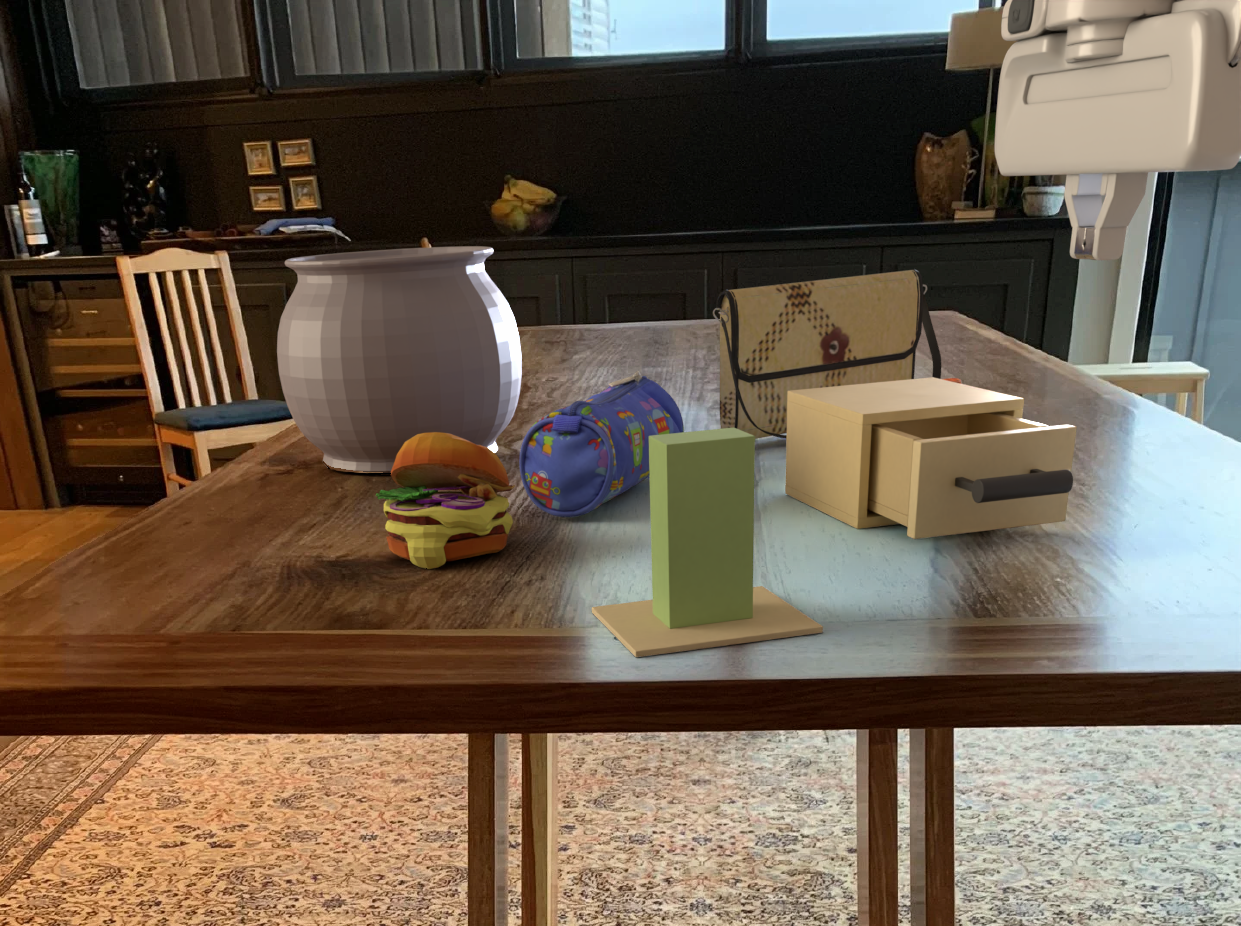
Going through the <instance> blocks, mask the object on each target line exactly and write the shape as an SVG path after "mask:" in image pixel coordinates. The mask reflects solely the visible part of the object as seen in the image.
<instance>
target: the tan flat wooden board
mask: <svg viewBox="0 0 1241 926" xmlns="http://www.w3.org/2000/svg"><path fill="white" fill-rule="evenodd" d="M591 613H592V614H593V615H594V616H595V618H597V619H598V620H599V621H600V623H602V625H603V626H605V628H606V629H608V631H609V632H610V633H612V635H613V636H614V637H615V638H616V639H617V640H618V641H619V642H620V643H621V644H622V645H623V646H624V647H625V648H626V649H627V651H629V652H630V653H631V654H632V655H633V656H634V657H635V658H643V657H650V656H658V655H666V654H673V653H680V652H687V651H695V650H703V649H711V648H718V647H725V646H734V645H740V644H747V643H755V642H762V641H771V640H777V639H785V638H793V637H801V636H809V635H815V634H822V633H824V626H823V625H822V624H820V623H819V622H817V621H815V620H814V619H812V618H811V617H809V616H808V615H806V614H805V613H804V612H802V611H801V610H799V609H798V608H797V607H795V606H794V605H792V604H790V603H789V602H787V601H785V600H784V599H782V597H780V596H778V595H777V594H775V593H774V592H772V591H770V589H767V587H765V586H763V585H758V586H753V618H749V619H741V620H733V621H726V622H718V623H710V624H703V625H695V626H687V627H679V628H672V629H670V628H668V627H667V626H666V625H665V624H664V623H663V622H662V621H661V620H659V619H658V618H657V617H656V616H655V615H654V614H653V600H652V599H645V600H637V601H630V602H629V601H628V602H622V603H613V604H605V605H598V606H592V607H591Z"/></svg>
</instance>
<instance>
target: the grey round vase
mask: <svg viewBox="0 0 1241 926" xmlns="http://www.w3.org/2000/svg"><path fill="white" fill-rule="evenodd" d="M494 252H495V251H494V248H493V247H491V246H479V245H478V246H477V245H476V246H475V245H473V246H472V245H471V246H470V245H469V246H467V245H466V246H465V245H464V246H463V245H462V246H431V247H430V246H429V247H413V248H396V249H395V248H394V249H378V250H377V249H376V250H364V251H350V252H349V251H348V252H336V253H325V254H316V255H315V254H314V255H306V256H305V255H304V256H299V257H291V258H288V259H286V260H285V261H284V265H285V267H287V268H289V269H291V270H293V271H294V273H295V274H296V275H297V283H296V284H295V287H294V289H293V291H292V292H291V295H290V297H289V299H288V301H287V302H286V304H285V307H284V309H283V312H282V314H281V316H280V319H279V325H278V330H277V340H276V341H277V342H276V343H277V344H276V353H277V368H278V375H279V381H280V384H281V389H282V393H283V396H284V399H285V402H286V405H287V409H288V410H289V412H290V415H291V417H292V419H293V421H294V424H295V425H296V427H297V428H298V430H299V431H300V432H301V434H302V435H303V436H304V437H305V438H306V439H307V440H308V441H309V442H310V443H311V444H313V446H315V447H316V448H317V449H319V451H321V452H322V453H323V458H322V462H323V461H324V462H325V463H326V464H327V465H329V466H331V467H334V468H341V469H346V470H353V471H363V472H383V473H391V470H392V467H393V465H394V462H395V459H396V456H397V454H398V452H399V451H400V449H401V447H402V446H403V444H404V443H405V442H406V441H407V440H409V439H411V438H412V437H414V436H415V435H417V434H421V433H430V432H441V433H449V434H452V435H455V436H458V437H460V438H463V439H465V440H467V441H470V442H472V443H474V444H476V445H482V446H484V447H487V448H489V449H490V450H491V451H493V452H494V453H495V454H496V453H497V451H498V450H499V447H498V445H497V442H496V441H497V438H499V436H500V435H501V434H502V433H503V432H504V430H506V428H507V427H508V426H509V424H510V423H511V421H512V419H513V417H514V416H515V413H516V409H517V407H518V402H519V398H520V393H521V386H522V376H523V374H522V373H523V372H522V371H523V370H522V364H523V363H522V362H523V361H522V359H523V357H522V348H521V341H520V335H519V331H518V327H517V322H516V318H515V316H514V313H513V311H512V309H511V307H510V304H509V302H508V300H507V299H506V297H505V296H504V294H503V293H502V291H501V290H500V288H498V286H497V284H496V283H495V282H494V281H493V280H492V278H491V277H490V276H489V274H488V272H486V270H485V262H486V259H487V258H489V257H490V256H491V255H493V254H494Z"/></svg>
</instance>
